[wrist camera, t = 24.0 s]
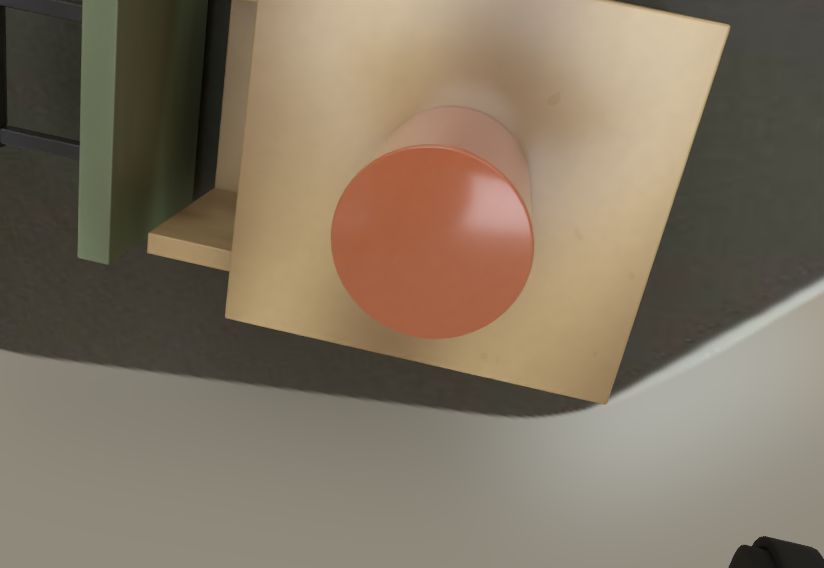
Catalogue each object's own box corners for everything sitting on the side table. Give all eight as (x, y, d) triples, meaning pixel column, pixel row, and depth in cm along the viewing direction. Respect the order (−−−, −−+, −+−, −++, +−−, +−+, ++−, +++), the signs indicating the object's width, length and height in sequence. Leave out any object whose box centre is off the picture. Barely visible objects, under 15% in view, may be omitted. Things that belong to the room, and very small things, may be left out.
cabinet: (296, 235, 36) (224, 318, 27) (335, -56, 31) (263, -70, 22) (585, 298, 35) (606, 405, 27) (670, 11, 31) (732, 25, 22)
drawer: (47, 174, 36) (-72, 224, 28) (48, -97, 31) (-93, -120, 24) (435, 260, 35) (413, 334, 27) (492, -8, 30) (483, -3, 23)
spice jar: (510, 275, 25) (507, 359, 20) (361, 242, 26) (317, 316, 20) (548, 124, 23) (557, 169, 18) (387, 90, 24) (346, 125, 18)
